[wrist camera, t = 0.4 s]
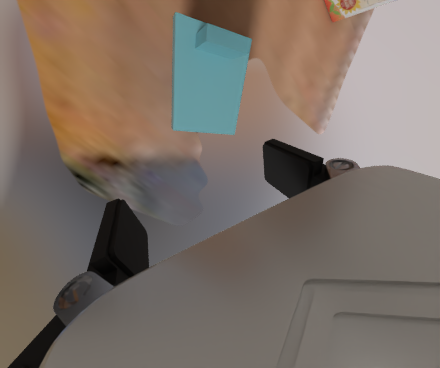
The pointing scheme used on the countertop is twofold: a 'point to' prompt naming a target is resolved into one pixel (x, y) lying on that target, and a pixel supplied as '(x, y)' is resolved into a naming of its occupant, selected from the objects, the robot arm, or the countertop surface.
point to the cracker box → (351, 7)
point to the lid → (206, 76)
